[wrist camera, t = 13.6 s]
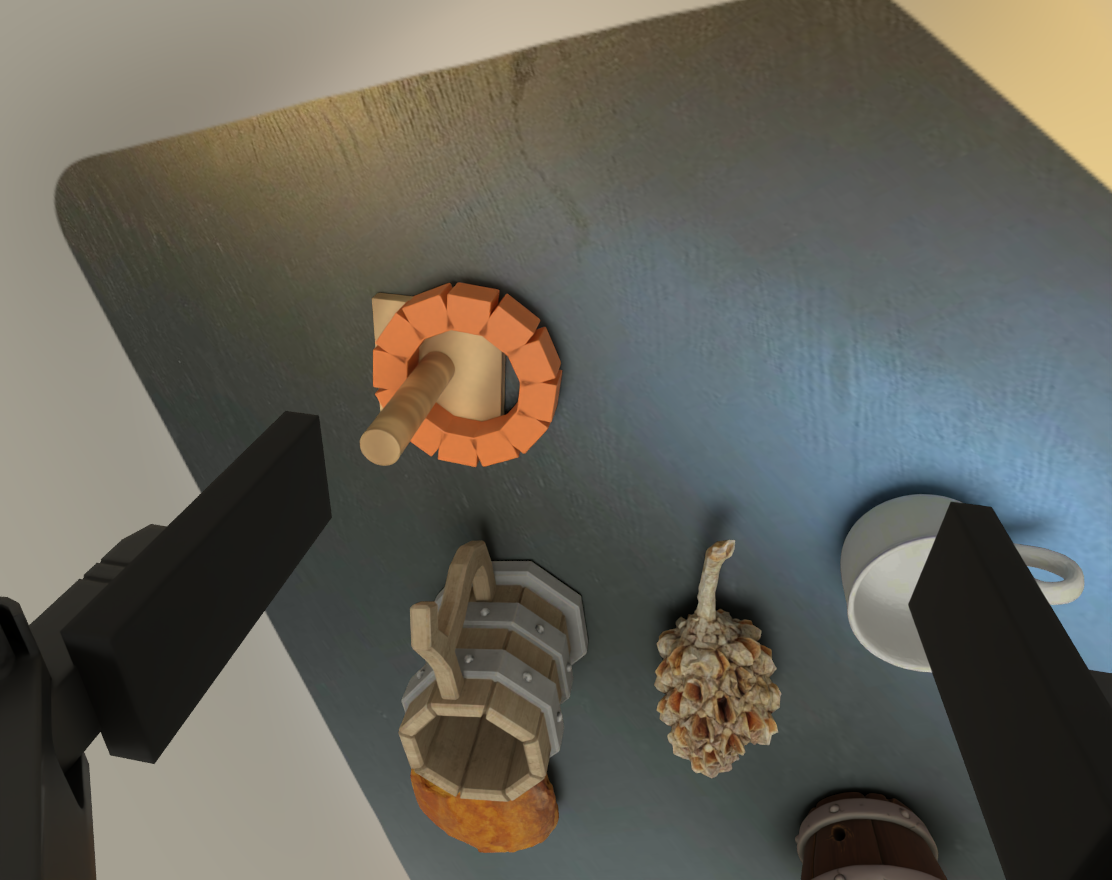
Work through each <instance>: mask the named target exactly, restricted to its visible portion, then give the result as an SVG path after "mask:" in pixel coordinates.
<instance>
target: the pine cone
mask: <svg viewBox="0 0 1112 880" xmlns="http://www.w3.org/2000/svg"><path fill="white" fill-rule="evenodd" d="M734 549H735V540H725V541H717V542H716V543H715V544H713V545H712V546H711V547H709V548H708V549H707V551H706V554H705V562H704V566H703V571H702V576H701V581H700V585H699V593H698V596H697V598H698V601H699V603H698V606H697V609H696V611H694V614H693V615H690V614H688V618H687V620H685V619H684V618H682V617H680V618H679V619H678V620H677V621H676V622H675V623H676V629H671V630H667V631H663V632H662V634H661V635H660V636H659V641H658V642H657V647H658V650H659V652H660V655H661V657H663V658H664V660H663V661H662V662H661V664H660V665H659V667H658V668H657V669H656V671H655V672H656V674H657V675H656V676H657V679H656V681H655V684H654V685H655V687H656V688H657V689H658V690H659V691H661V692H663V693H665V694H666V695H665V696H664V697H663V698H662V699H661V700H660V701H659V703H658V706H657V711H658V712H660V713H661V714H660V720H662V721H663V722H664V723H666V724H667V725H668V726H672V729H671V732H670V733H669V734H668V735H667V737H668V740H669V742H670V743H671V744H672V745H673V753H674V754H675V755H676V756H680V757H681V758H684V759H688V760H690V761H691V765H692V770H693V771H694V772H696V773H700V772H701V773H702V774H704V775H706V776H708V777H710V778H713V777H716V776H717V775H718V772H728V771H730V770H731V769H732V764H731V763H733V762H734V761H736V760H739V756H738V754H740V755H743V754H744V753H745V749H744V745H747V743H749V742H751V743H753V744H754V745H755V744H757V743H758V744H761V745H770V741H771V735H773V734H775V733H777V732H778V729H777V725H776V723H775V721H774V719H773V717H772V715H771V713H772V712H774V711H775V710H777V709H778V708H779V707H780V696H781V692H780V691H779V689H778V687H777V685H776V684H773V682H772V681H771V680H770V676H771V675H772V674H773V672H774V671H775V670H776V669H777V668H776V667H775V665H774V663H773V661H772V651H771V649H769V648H767V647H765V646H763V645H760V643H758V642H757V641H758V640H759V639H760V637H761V630H760V629H758V628H757V627H755V626H754V625H753V623H752V621H751V620H746V619H744V620H741V621H740V620H739V619H737V618H736V619H732V617H731V616H730V615H729V612H725V611H723V610H722V609H719V610H717V611H716V610H715V591H716V587H717V583H718V577H719V572H720V568H721V565H722V563H723V562H724V561H725V559H727V558H729V557H731V556H732V554H733V551H734Z"/></svg>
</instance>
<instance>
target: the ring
mask: <svg viewBox="0 0 1112 880" xmlns="http://www.w3.org/2000/svg"><path fill="white" fill-rule="evenodd" d="M498 301H499V290H498V289H492V288H487V287H482V286H476V285H471V284H466V283H460V282H458V283H457V284H456V285H455V286H454V287H453V288H452V285H451V283H447V284H445V285H442V286H439V287H437V288H434V289H431V290H429V291H426V292H423V293H421V294H418V295H415V296H414V297H413V298H412V299H411V300H410V301H409V300H408V301H407V302H406V303H405V304H404V305H403V306H402V307H401V308H400V309H399V310H398V311H397V312H396V313H395V315H394V316H393V317H392V319H391V320H390V322H389V323H388V325H387V326H386V328H385V329H384V331H383V332H382V333H381V335H380V336H379V338H378V339H377V341H376V342H375V343H376V344H377V346H376V348H375V349H374V350H373V386H374V387H377V388H379V390H378V391H377V392H376V393H375V395H376V396H377V398H378V400H379V402H380V404H381V405H382V407H383V408H384V407H385V406H386V404H387V403H388V402H389V401H390V399H391V398H392V397H393V396H394V394H395V393H396V392H397V390H398V389H399V388H400V387H401V385H402V384H403V383H404V382H405V380H406V379H407V378H408V376H409V375H410V374H411V373H412V371H413V370H414V369H415V368H416V366H417V365H418V363H419V347H420V346H421V345H422V343H423V342H424V340H425V339H427V338H430V337H433V336H436V335H439V334H442V333H445V332H447V331H450V330H453V331H458V332H463V333H469V334H474V335H479V336H482V337H484V338H485V339H486V340H488V341H489V342H490V343H492V344H493V345H494V346H495V347H497V348H498V349H499V350H501V351H502V352H503V353H504V354H506V355H507V356H508V357H509V360H510V362H511V364H512V366H513V368H514V370H515V373H516V375H517V377H518V379H519V381H520V390H519V398H518V402H517V403H516V405H515V406H514V407H513V408H512V409H511V410H510V411H509V413H508V414H506V415H503V416H499V417H496V418H493V419H489V420H486V421H477V420H472V419H467V418H462V417H457V416H454V415H452V414H451V413H450V412H448V411H447V410H446V409H444V408H443V407H442V406H440V405H439V404H438V403H435V404H434V406H433V407H432V409H431V411H430V412H429V414H428V415H427V417H426V418H425V420H424V421H423V423H422V424H421V426H420V427H419V429H418V430H417V432H416V433H415V435H414V436H413V438H412V439H411V442H412V443H413V444H415V445H416V446H417V447H419V448H420V449H422V450H423V451H424V452H426V453H427V454H429V455H430V456H432V455H433V454H434V453H435V452H436V450H437V449H438V448H439V453H438V459H439V460H444V461H449V462H454V463H458V464H463V465H468V466H473V467H476V466H477V464H478V462H479V460H480V461H481V463H482V465H483V467H485V466H488V465H492V464H496V463H499V462H503V461H507V460H510V459H514V458H518V457H519V454H520V452H522V453H524V454H525V453H526V452H527V451H528V450H529V449H530V447H531V446H532V445H533V444H534V443H535V442H536V441H537V440H538V439H539V438H540V437H541V436H542V435H543V434H544V432H545V431H546V430H547V429H548V427H549V425H550V422H552V419H553V416H554V413H555V410H556V408H557V403H558V397H559V390H560V384H561V377H562V370H559V368H560V365H561V361H560V359H559V357H558V354H557V352H556V350H555V347H554V345H553V343H552V340H551V338H550V336H549V333H548V331H547V328H546V327H542V328H539V329H537V327H538V325H539V323H540V319H539V318H538V317H536V316H535V315H534V314H533V313H531V312H530V311H529V310H528V309H526V308H525V307H524V306H523V305H521V304H520V303H519V302H517V301H516V300H515V299H514V298H512V297H511V296H510V295H509V294H506V295H505V296H504V297H503V299H502V300H501V301H500V302H499V304H498Z"/></svg>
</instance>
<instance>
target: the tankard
mask: <svg viewBox="0 0 1112 880" xmlns="http://www.w3.org/2000/svg"><path fill="white" fill-rule="evenodd" d="M410 620H411V646H412V648H413V649H414V650H415V651H416V652H417V653H418V654H419V655H421V656H422V657H423V658H424V659H425V661H426V665H424V666H423V667H422V668H421V669H420V670H419V671H418V672H417V673H416V674H415V675H414V676H413V677H412V678H411V679H410V681H409V684H408V686H407V688H406V691H405V693H404V695H403V698H402V700H401V701H402V704H403V707H404V710H405V713H406V714H405V716H404V719H403V721H402V723H401V726H400V728H399V732H398V733H399V736H400V738H401V741H402V744H403V747H404V750H405V752H406V755H407V758H408V761H409V764H410V766H411V768H412V769H414V772H415V773H417V774H418V775H420V776H422V777H423V778H425V779H427V780H428V781H430V782H432V783H433V784H435V785H437V786H438V787H440V788H442V789H443V790H445V791H447V792H448V793H450V794H452V795H453V796H455V797H456V796H457V795H458V793H459V792H460V798H461V799H476V800H490V801H505V802H508V801H510V799H511V800H512V801H513V800H515V799H516V798H518V797H519V796H520V795H522V794H523V793H525V792H526V791H528V790H529V789H530V788H532V787H533V786H535V785H536V784H538V783H539V782H540V781H542V780H543V779H545V776H546V772H547V767H548V762H549V758H550V757H552V756H553V755H554V754H556V753H557V752H559V751H560V747H561V742H562V736H563V731H564V724H563V719H562V717H563V716H562V713H561V708H560V704H562V703H563V702H564V701H566V700H567V699H568V698H570V693H571V687H572V682H573V672H572V665H573V664H574V663H575V662H577V661H578V660H579V659H580V658H582V657H583V656H584V655H585V654H586V653H587V647H588V637H587V630H586V624H585V617H584V611H583V605H582V598H581V596H580V595H579V594H577V593H576V592H575V591H573V590H572V589H570V588H569V587H567V586H566V585H565V584H563V583H562V582H560V581H559V580H557V579H556V578H555V577H553V576H552V575H550V574H549V573H547V572H546V571H544V570H543V569H542V568H540V567H539V566H537V565H536V564H534V563H533V562H532V561H491V559H490V556H489V553H488V550H487V547H486V544H485V542H484V541H470V542H468V543H466V544H464V545H462V546H460V547H459V548H458V550H457V552H456V554H455V556H454V558H453V560H452V562H451V564H450V566H449V571H448V575H447V580H446V584H445V588H444V589H443V590H442V591H441V592H440V593H439V594H438V595H437V597H436V599H435V601H434V602H427V601H421V602H419V603H416V604H414V605H412V607H411V608H410Z"/></svg>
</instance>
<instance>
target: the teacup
mask: <svg viewBox="0 0 1112 880" xmlns="http://www.w3.org/2000/svg"><path fill="white" fill-rule="evenodd" d="M950 502H959V503H962V502H960V501H957V500H955V499H951V498H948V497H944V496H938V495H931V494H916V495H907V496H902V497H898V498H894V499H891V500H889V501H886V502H884V503H882V504H880V505H878V506H876V507H874V508H872V509H871V510H870V511H868V512H867V513H865V514H864V515H863V516H862V517H861V518H860V519H859V520H858V521H857V522H856V523H855V524H854V526H853V527H852V528H851V530H850V531H849V533H848V535H847V537H846V539H845V542H844V544H843V548H842V552H841V562H840V565H841V577H842V583H843V589H844V593H845V598H846V602H847V614H848V619H849V623H850V626H851V628H852V630H853V633H854V634H855V636H856V637H857V639H858V640H859V642H860V643H861V644H862V645H863V646H864V647H865V648H866V649H868V650H869V651H870V652H871V653H873V654H874V655H875V656H877V657H879V658H881V659H882V660H884V661H886V662H888V663H891V664H893V665H895V666H899V667H902V668H905V669H910V670H914V671H921V672H932V671H931V668H930V665H929V662H928V660H927V657H926V654H925V651H924V648H923V646H922V643H921V640H920V637H919V634H918V632H917V629H916V626H915V623H914V620H913V618H912V615H911V612H910V609H909V606H908V603H909V601H910V599H911V596H912V594H913V591H914V589H915V586H916V584H917V582H918V579H919V577H920V574H921V572H922V570H923V567H924V565H925V562H926V560H927V558H928V555H929V553H930V550H931V548H932V545H933V543H934V541H935V538H936V536H937V533H938V531H939V529H940V526H941V524H942V521H943V519H944V517H945V514H946V512H947V509H948V507H949V504H950ZM1013 544H1014V545H1015V547H1016V549H1017V550H1018V552H1019V554H1020V555H1021V557H1022V559H1023V560H1024V562H1025V564H1026V565H1027V566H1031V567H1036V568H1040V569H1043V570H1047V571H1049V572H1052V573H1055V574H1057V575H1059V576H1061V577H1062V578H1063V579H1064V580H1063V581H1060V582H1044V581H1040V580H1038V579H1035V578H1034V579H1035V580H1036V582H1037V584H1038V585H1039V587H1040V589H1041V591H1042V592H1043V594H1044V596H1045V597H1046V599H1047V601H1048V602H1049V604H1051V605H1057V604H1067V603H1069V602H1072V601H1074V600H1076V599H1077V598H1078V597H1079V596H1080V595H1081V593H1082V591H1083V589H1084V576H1083V572H1082V570H1081V568H1080V567H1079V566H1078V564H1077V563H1076V562H1075V561H1073V560H1072V559H1070V558H1068V557H1067V556H1065V555H1063V554H1060V553H1058V552H1055V551H1052V550H1049V549H1045V548H1040V547H1035V546H1028V545H1021V544H1015V543H1013Z"/></svg>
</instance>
